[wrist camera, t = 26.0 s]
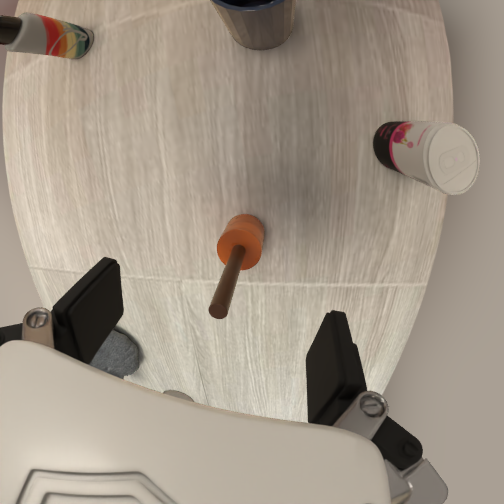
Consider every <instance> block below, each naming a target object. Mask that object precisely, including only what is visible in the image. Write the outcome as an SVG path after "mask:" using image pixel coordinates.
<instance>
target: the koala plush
mask: <svg viewBox="0 0 504 504" xmlns="http://www.w3.org/2000/svg"><path fill="white" fill-rule="evenodd" d="M137 352H138V348H137V347H136V346H135V344H134V343H132V342H131V341H130V339H129V338H128V337H127V336H126V335H125V334H120V333H118V332H117V331H115V330H112V331H111V333H110V334H109V336H108V337H107V338H106V340H105V341H104V343H103V344H102V346H101V347H100V349H99V350H98V352H97V353H96V355H95V356H94V358H93V359H92V361H91V362H90V364H89V365H90V366H92V367H94V368H97V369H99V370H101V371H104V372H106V373H108V374H111V375H113V376H116V377H118V378H121V379H123V378H124V376H125V375H127V376H128V375H129V374H130V375H131V374H133V373H134V372H135V371H137V370H138V369H139V362H138V358H137V357H138V356H137Z"/></svg>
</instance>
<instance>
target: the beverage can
mask: <svg viewBox="0 0 504 504" xmlns="http://www.w3.org/2000/svg"><path fill="white" fill-rule="evenodd" d="M374 151H375V154H376V156H377V158H378V160H379V161H380V162H381V163H382V164H383V165H384V166H386V167H387V168H390V169H392V170H394V171H397V172H399V173H401V174H404V175H406V176H408V177H411V178H413V179H415V180H417V181H419V182H421V183H424V184H426V185H428V186H430V187H432V188H434V189H436V190H438V191H440V192H442V193H445V194H450V195H451V194H453V195H458V194H462V193H464V192H466V191H467V190H469V189H470V188H471V187H472V185H473V184H474V182H475V181H476V179H477V176H478V173H479V167H480V156H479V150H478V147H477V144H476V142H475V140H474V138H473V137H472V136H471V134H470V133H469V132H468V131H467V130H466V129H464V128H463V127H461V126H459V125H457V124H454V123H450V122H388V123H385V124H384V125H382V126H381V127H380V128H379V129H378V130H377V132H376V134H375V137H374Z"/></svg>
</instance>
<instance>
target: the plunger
mask: <svg viewBox="0 0 504 504" xmlns="http://www.w3.org/2000/svg"><path fill="white" fill-rule="evenodd" d="M264 235H265V231H264V227H263V225H262V223H261V222H260V221H259V220H258V219H257V218H256V217H254V216H252V215H248V214H241V215H237V216H235V217H234V218H232V219H231V220H230V221H229V223H228V225H227V226H226V228H225V230H224V232H223V234H222V235H221V237H220V239H219V241H218V244H217V253H218V256H219V258H220V260H221V261H222V262H223V263H224V264H225V265H226V266H225V269H224V271H223V274H222V276H221V279H220V281H219V284H218V286H217V289H216V291H215V294H214V296H213V299H212V301H211V304H210V307H209V313H210V315H211V316H212V317H214V318H216V319H223V318H225V317H226V316H227V314H228V310H229V307H230V303H231V300H232V297H233V293H234V290H235V286H236V283H237V279H238V276H239V273H240V270H247V269H250V268H252V267H253V266H255V265H256V264H257V263H258V261H259V260H260V257H261V253H262V247H263V241H264Z"/></svg>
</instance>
